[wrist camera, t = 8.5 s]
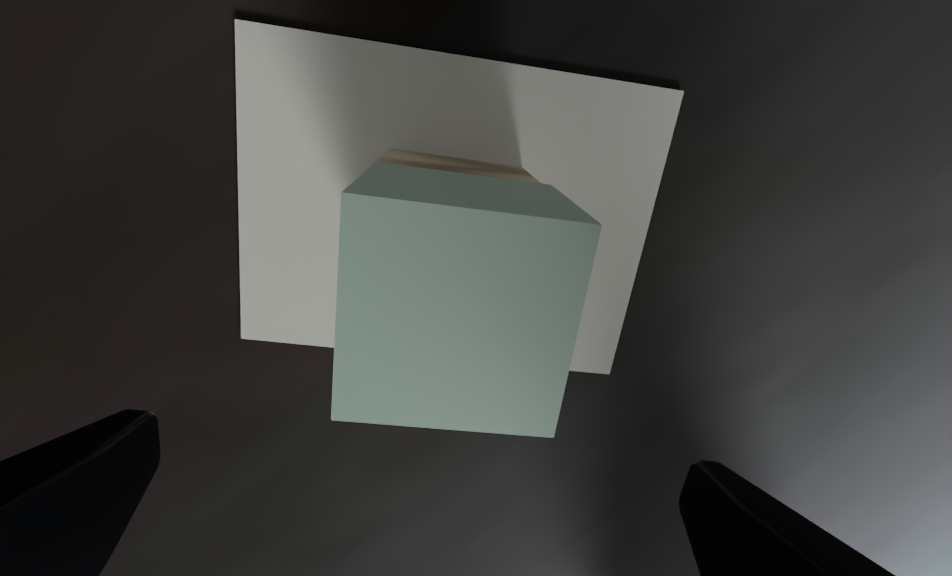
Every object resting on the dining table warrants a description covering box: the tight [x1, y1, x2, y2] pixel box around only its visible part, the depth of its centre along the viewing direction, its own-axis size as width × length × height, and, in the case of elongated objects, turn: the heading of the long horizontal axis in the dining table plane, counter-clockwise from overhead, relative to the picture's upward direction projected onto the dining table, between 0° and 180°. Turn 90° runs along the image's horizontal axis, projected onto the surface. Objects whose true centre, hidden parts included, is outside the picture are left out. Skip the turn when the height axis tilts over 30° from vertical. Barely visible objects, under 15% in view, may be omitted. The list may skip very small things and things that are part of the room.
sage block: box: [331, 162, 602, 438], centre depth 13 cm, size 5×5×5 cm
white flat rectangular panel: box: [235, 19, 684, 374], centre depth 20 cm, size 16×12×1 cm
